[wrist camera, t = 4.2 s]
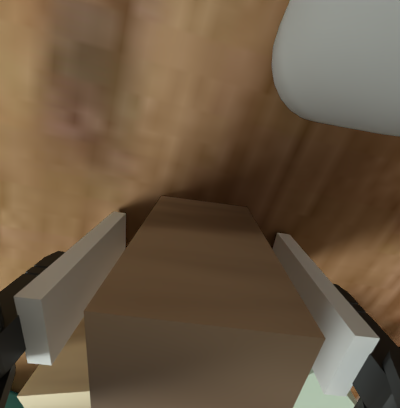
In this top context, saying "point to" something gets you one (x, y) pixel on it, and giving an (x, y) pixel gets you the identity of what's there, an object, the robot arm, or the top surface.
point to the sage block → (321, 396)
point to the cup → (341, 63)
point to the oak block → (61, 378)
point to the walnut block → (198, 316)
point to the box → (13, 401)
